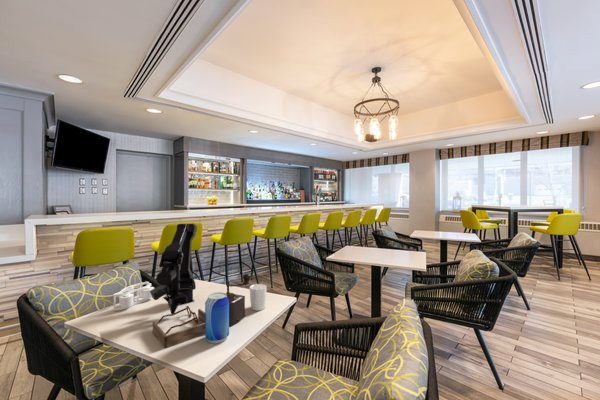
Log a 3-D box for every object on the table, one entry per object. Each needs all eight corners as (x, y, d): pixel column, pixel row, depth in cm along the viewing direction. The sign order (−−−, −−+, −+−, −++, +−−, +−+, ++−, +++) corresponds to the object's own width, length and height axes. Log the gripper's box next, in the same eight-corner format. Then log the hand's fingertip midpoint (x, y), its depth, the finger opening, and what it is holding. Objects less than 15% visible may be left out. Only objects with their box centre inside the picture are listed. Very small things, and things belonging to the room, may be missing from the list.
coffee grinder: (231, 327, 108) (231, 283, 108) (210, 322, 113) (209, 279, 113) (253, 312, 123) (253, 273, 123) (233, 308, 127) (233, 270, 127)
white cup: (246, 309, 126) (246, 288, 126) (255, 303, 133) (255, 283, 133) (261, 312, 123) (261, 290, 123) (269, 305, 130) (269, 285, 130)
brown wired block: (199, 318, 117) (199, 308, 117) (215, 330, 106) (215, 320, 106) (152, 332, 104) (152, 322, 104) (164, 348, 94) (164, 336, 94)
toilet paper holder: (120, 312, 123) (120, 296, 123) (105, 308, 128) (105, 292, 128) (159, 297, 141) (159, 283, 141) (145, 294, 146) (145, 281, 146)
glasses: (199, 325, 111) (198, 313, 111) (164, 336, 103) (164, 323, 103) (188, 315, 121) (188, 303, 121) (156, 323, 113) (156, 311, 113)
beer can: (216, 347, 94) (216, 301, 94) (200, 340, 99) (200, 296, 99) (233, 336, 101) (233, 294, 101) (218, 330, 106) (218, 290, 106)
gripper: (146, 276, 119) (146, 312, 119) (158, 287, 105) (158, 327, 105) (172, 272, 127) (172, 305, 127) (187, 281, 113) (187, 318, 113)
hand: (172, 313), depth 118 cm, fingers closed
